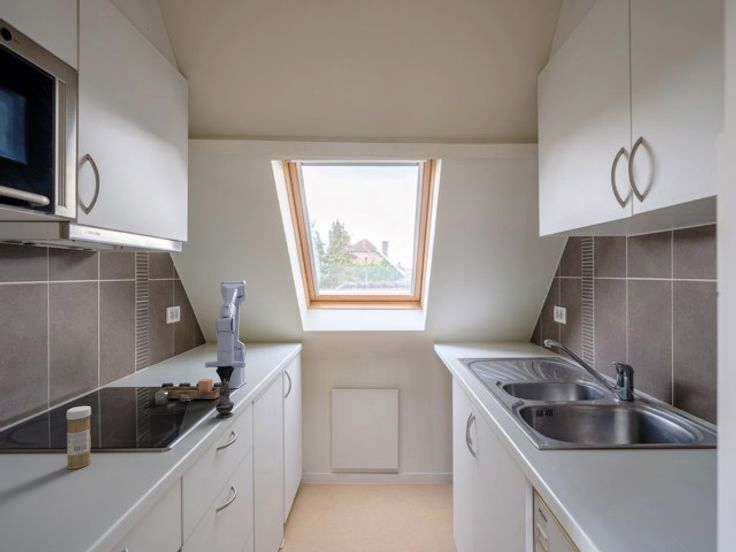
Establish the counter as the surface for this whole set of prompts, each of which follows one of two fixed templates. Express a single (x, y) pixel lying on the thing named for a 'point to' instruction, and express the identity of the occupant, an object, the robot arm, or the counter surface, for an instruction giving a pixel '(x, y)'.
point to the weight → (161, 398)
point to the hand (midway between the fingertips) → (225, 387)
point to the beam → (190, 393)
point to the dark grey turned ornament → (224, 401)
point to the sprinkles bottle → (78, 437)
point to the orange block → (205, 385)
